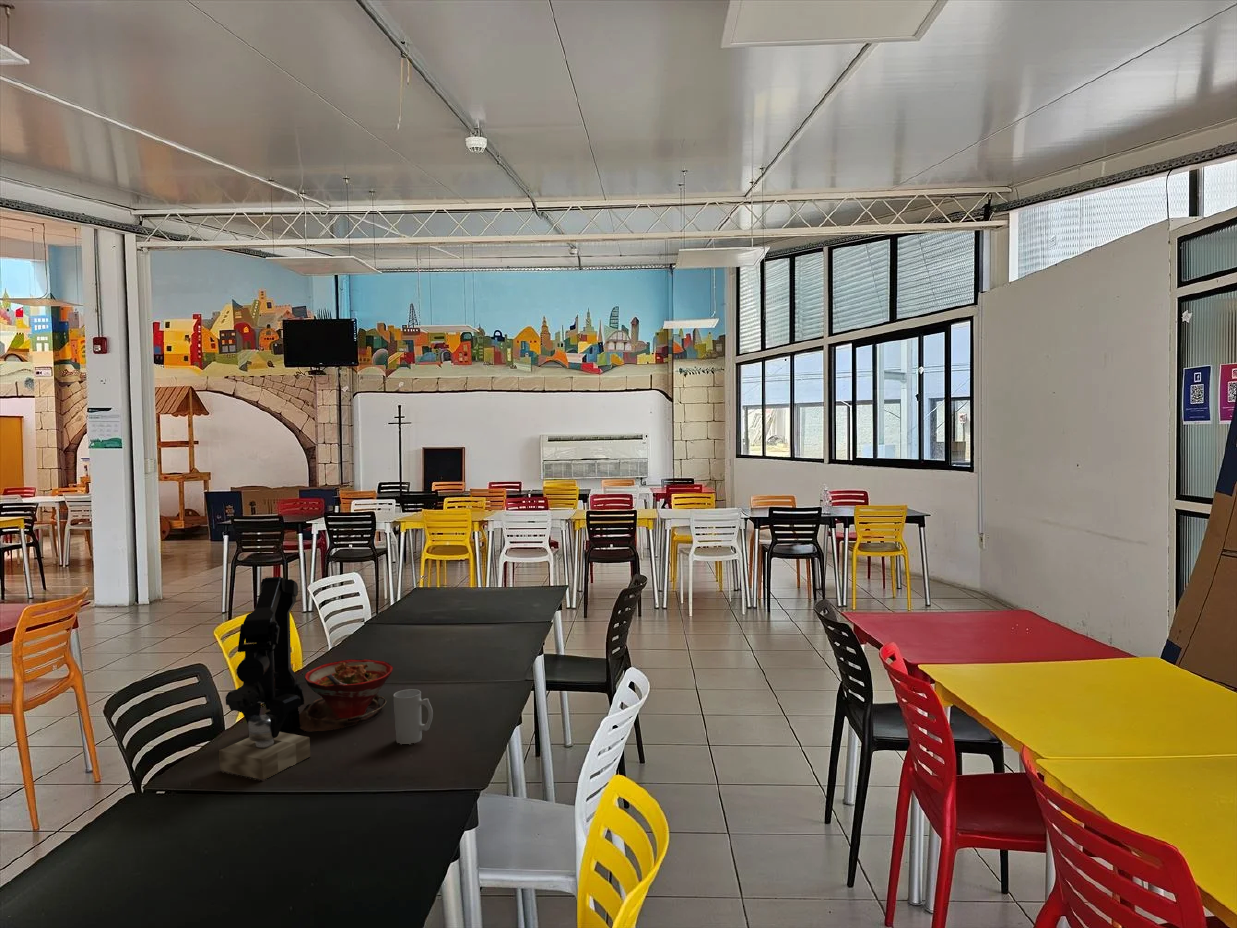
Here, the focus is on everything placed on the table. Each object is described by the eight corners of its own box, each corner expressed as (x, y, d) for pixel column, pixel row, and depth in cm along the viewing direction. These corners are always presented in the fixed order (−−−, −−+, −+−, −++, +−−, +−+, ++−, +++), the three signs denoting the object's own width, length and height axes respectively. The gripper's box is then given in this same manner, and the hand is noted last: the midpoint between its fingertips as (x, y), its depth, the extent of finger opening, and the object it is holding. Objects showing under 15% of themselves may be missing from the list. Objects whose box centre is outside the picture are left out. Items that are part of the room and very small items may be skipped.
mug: (390, 744, 205) (388, 697, 204) (402, 734, 211) (400, 688, 211) (427, 746, 203) (426, 699, 202) (439, 736, 209) (437, 690, 209)
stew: (363, 736, 211) (361, 674, 210) (278, 732, 215) (275, 672, 214) (409, 699, 239) (407, 645, 238) (332, 697, 243) (330, 643, 242)
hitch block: (219, 771, 191) (218, 750, 191) (268, 749, 204) (267, 729, 204) (263, 781, 185) (262, 759, 185) (310, 757, 198) (309, 737, 198)
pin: (244, 759, 193) (241, 722, 192) (266, 749, 199) (264, 712, 198) (264, 763, 190) (262, 725, 190) (286, 753, 196) (284, 716, 196)
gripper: (203, 676, 190) (207, 742, 191) (261, 685, 182) (265, 754, 183) (244, 662, 200) (247, 725, 201) (300, 670, 192) (303, 736, 193)
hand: (264, 735), depth 194 cm, fingers closed on pin, 6 cm apart
